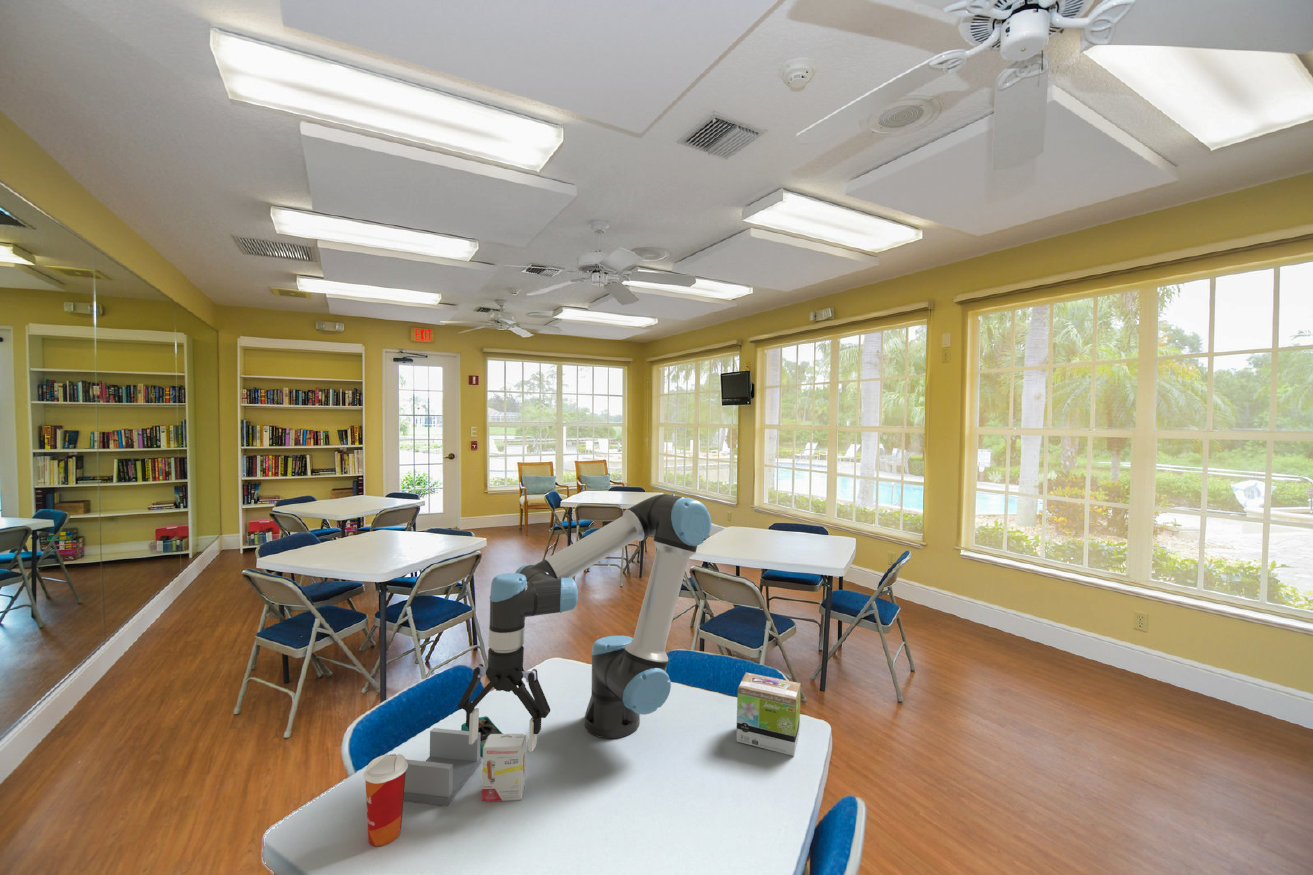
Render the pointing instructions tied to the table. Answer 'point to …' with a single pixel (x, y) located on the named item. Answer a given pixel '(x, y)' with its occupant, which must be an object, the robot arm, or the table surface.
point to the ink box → (503, 767)
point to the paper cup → (385, 797)
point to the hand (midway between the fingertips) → (502, 744)
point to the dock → (442, 768)
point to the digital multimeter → (483, 730)
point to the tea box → (768, 713)
